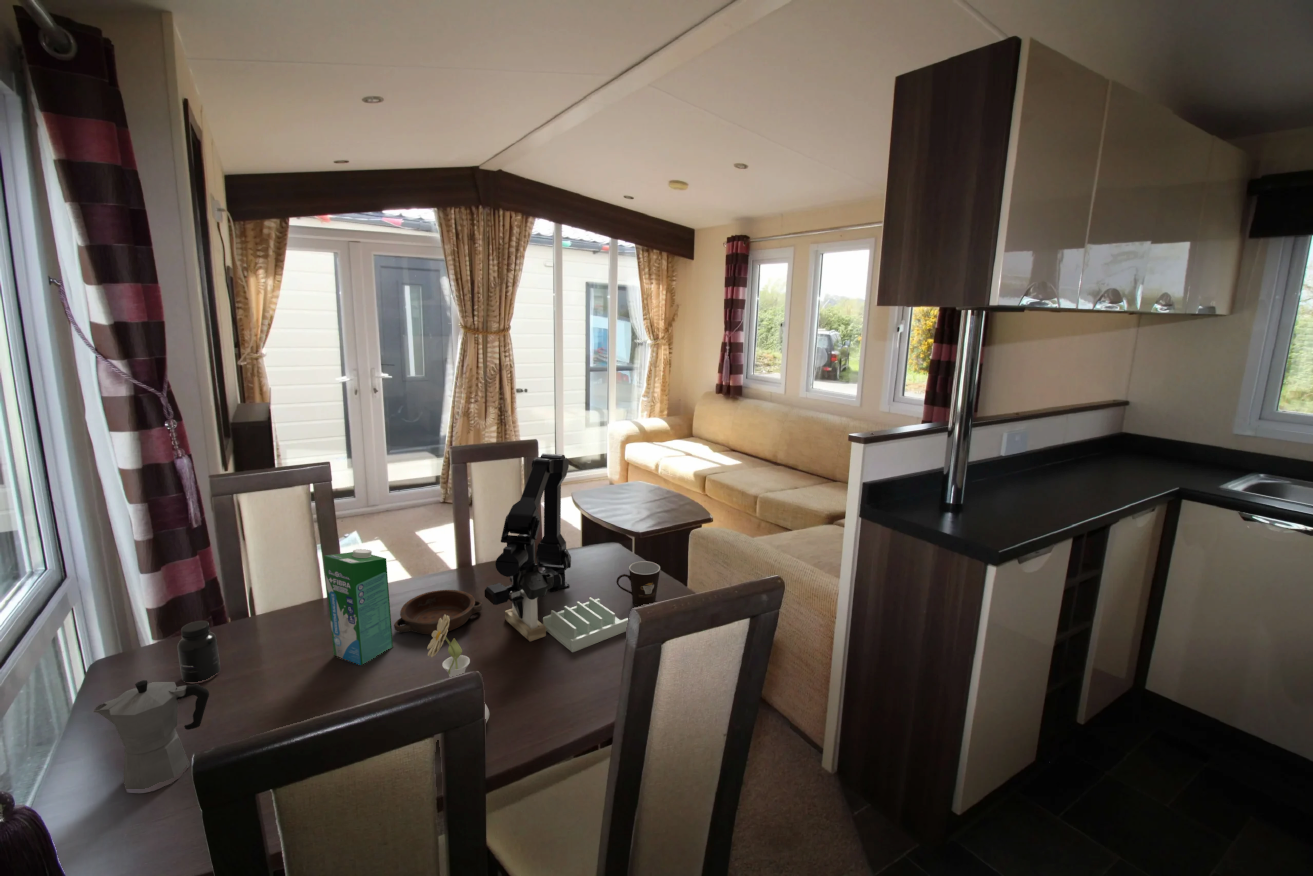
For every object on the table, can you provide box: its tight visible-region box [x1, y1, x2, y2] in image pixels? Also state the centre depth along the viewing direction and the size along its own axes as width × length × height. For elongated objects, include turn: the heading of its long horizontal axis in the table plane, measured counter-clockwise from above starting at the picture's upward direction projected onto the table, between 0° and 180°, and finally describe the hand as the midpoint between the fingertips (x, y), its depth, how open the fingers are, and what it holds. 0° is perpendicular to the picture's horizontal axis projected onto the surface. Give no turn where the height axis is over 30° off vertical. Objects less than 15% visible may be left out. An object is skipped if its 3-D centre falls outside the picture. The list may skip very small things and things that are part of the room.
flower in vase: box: [426, 615, 490, 723], centre depth 115 cm, size 13×11×25 cm
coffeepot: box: [93, 679, 210, 790], centre depth 104 cm, size 15×9×18 cm, turn 114°
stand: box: [504, 608, 547, 642], centre depth 155 cm, size 13×4×2 cm, turn 40°
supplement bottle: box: [176, 620, 221, 682], centre depth 131 cm, size 7×7×12 cm
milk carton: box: [323, 548, 394, 666], centre depth 140 cm, size 9×9×25 cm
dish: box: [393, 589, 483, 635], centre depth 156 cm, size 18×22×5 cm
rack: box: [542, 597, 628, 653], centre depth 154 cm, size 14×17×5 cm
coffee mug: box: [615, 560, 661, 607], centre depth 169 cm, size 12×9×10 cm
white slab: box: [511, 590, 539, 629], centre depth 154 cm, size 10×2×10 cm, turn 40°
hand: (524, 616), depth 154 cm, fingers closed on white slab, 2 cm apart
